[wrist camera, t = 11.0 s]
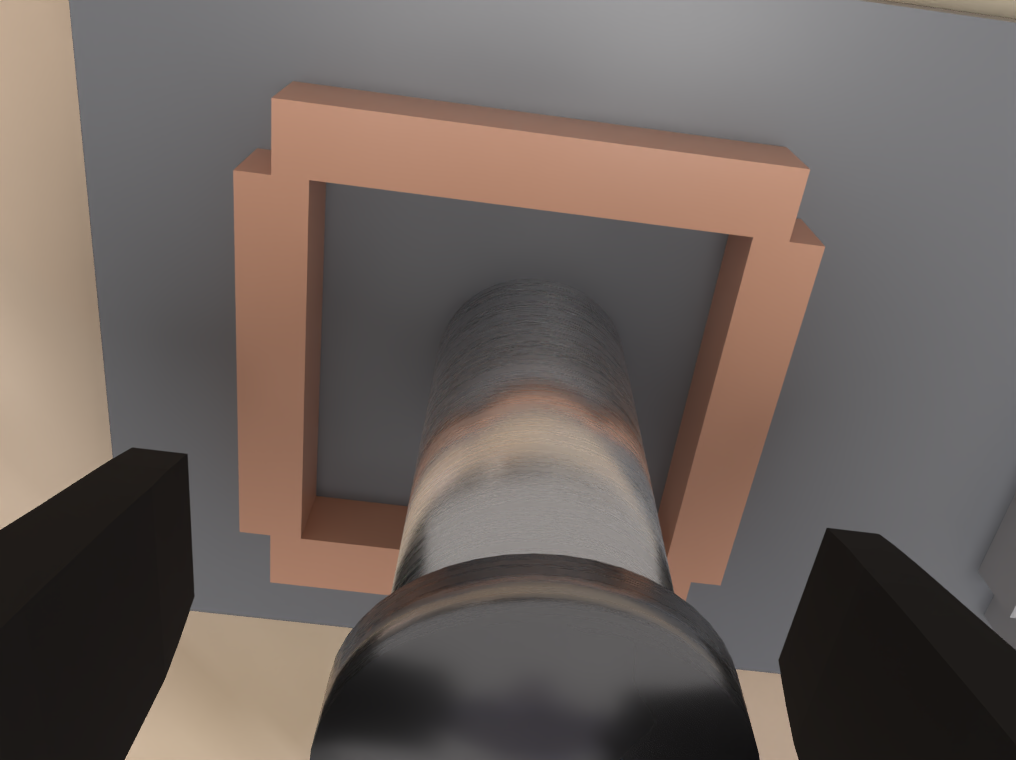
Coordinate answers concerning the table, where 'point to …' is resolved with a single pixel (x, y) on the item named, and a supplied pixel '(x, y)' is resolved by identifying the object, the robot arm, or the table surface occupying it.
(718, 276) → the dock board
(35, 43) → the table surface
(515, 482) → the pin
